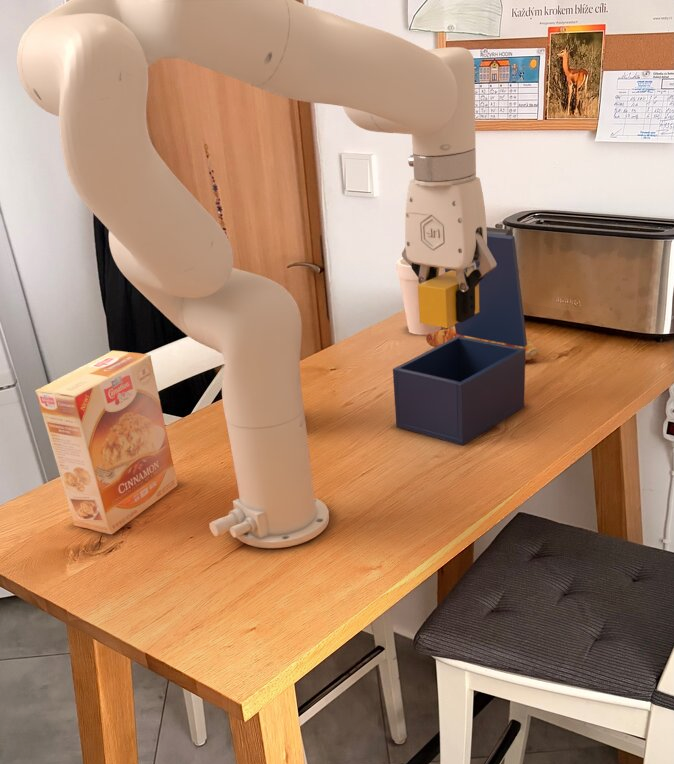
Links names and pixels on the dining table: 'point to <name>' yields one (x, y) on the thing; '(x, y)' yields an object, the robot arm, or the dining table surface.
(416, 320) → the foam cup
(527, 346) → the croissant
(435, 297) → the cheese block
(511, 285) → the lid
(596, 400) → the dining table surface
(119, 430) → the coffeecake box
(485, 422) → the cool box
